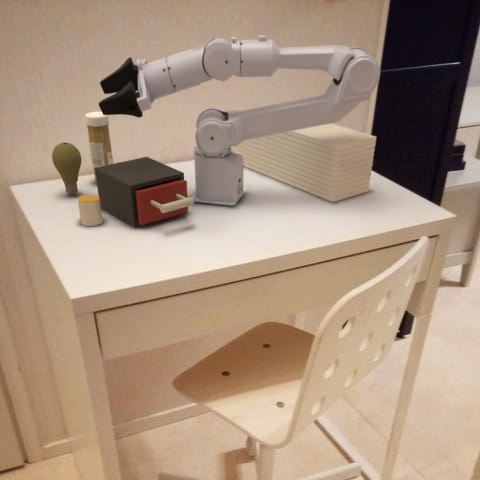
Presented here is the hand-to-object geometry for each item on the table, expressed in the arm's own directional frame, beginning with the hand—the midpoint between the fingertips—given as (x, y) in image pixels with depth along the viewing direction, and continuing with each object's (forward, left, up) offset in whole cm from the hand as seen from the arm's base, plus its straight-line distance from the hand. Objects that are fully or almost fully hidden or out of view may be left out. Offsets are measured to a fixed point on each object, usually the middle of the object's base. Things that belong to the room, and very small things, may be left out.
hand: (101, 98), depth 112 cm
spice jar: (+6, -8, -18) cm, 21 cm away
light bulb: (+9, +1, -18) cm, 20 cm away
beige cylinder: (-2, +13, -18) cm, 22 cm away
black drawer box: (-8, +5, -18) cm, 21 cm away
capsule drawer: (-12, +8, -17) cm, 22 cm away
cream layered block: (-33, -24, -18) cm, 45 cm away
